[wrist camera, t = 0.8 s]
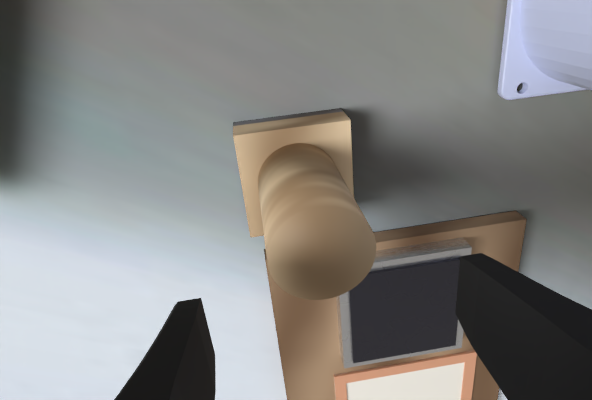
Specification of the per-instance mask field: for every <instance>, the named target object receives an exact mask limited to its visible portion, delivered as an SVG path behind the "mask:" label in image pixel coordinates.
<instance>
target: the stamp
mask: <svg viewBox="0 0 592 400" xmlns="http://www.w3.org/2000/svg"><path fill="white" fill-rule="evenodd" d="M233 137H234V143H235V149H236V155H237V160H238V166H239V172H240V178H241V184H242V190H243V196H244V202H245V207H246V213H247V219H248V225H249V231H250V237H257V236H263V235H264V239H265V248H266V256H267V264H268V268H269V272H270V274H271V276H272V278H273V279H274V281H275V282H276V283H277V285H278V286H279V287H280V288H282V289H283V290H284V291H286V292H287V293H289V294H291V295H293V296H296V297H298V298H302V299H308V300H324V299H330V298H334V297H337V296H340V295H342V294H344V293H346V292H348V291H350V290H352V289H353V288H354V287H356V286H357V285H358V284H359V283H360V282H361V281H362V280H363V279H364V278H365V277H366V276H367V274H368V273H369V271H370V270H371V268H372V266H373V263H374V260H375V256H376V240H375V236H374V233H373V231H372V229H371V227H370V226H369V224H368V222H367V220H366V218H365V217H364V215H363V213H362V211H361V210H360V208H359V206H358V204H357V203H356V201H355V199H354V189H353V166H352V142H351V120H350V119H349V118H348V116H347V115H346V114H345V113H344V112H343V111H342V109H341V108H339V109H331V110H324V111H316V112H308V113H301V114H293V115H286V116H278V117H271V118H263V119H256V120H248V121H240V122H233Z"/></svg>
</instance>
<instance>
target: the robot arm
mask: <svg viewBox="0 0 592 400" xmlns="http://www.w3.org/2000/svg"><path fill="white" fill-rule="evenodd" d="M520 83H523V86H522V89H521V90H520V91H518V92H517V87H518V85H519V84H520ZM587 89H588V90H591V91H592V0H508V2H507V11H506V20H505V29H504V38H503V47H502V56H501V65H500V74H499V83H498V94H499V96H500V97H502V98H504V99H506V100H513V99H521V98H528V97H535V96H543V95H550V94H558V93H565V92H573V91H580V90H587ZM455 314H456V316H457V318H458V320H459V322H460V324H461V326H462V328H463V330H464V332H465V334H466V336H467V338H468V340H469V342H470V344H471V346H472V347H473V349H474V350H475V352H476V353H477V355H478V356H479V358H480V359H481V361H482V362H483V364H484V365H485V367H486V368H487V370H488V371H489V373H490V374H491V376H492V377H493V379H494V380H495V382H496V383H497V385H498V386H499V388H500V389H501V390H502V392H503V393H504V395H505V396H506V398H507V399H508V400H592V310H591V309H589V308H587V307H585V306H583V305H581V304H579V303H576V302H574V301H572V300H570V299H568V298H566V297H564V296H562V295H560V294H558V293H556V292H554V291H553V290H551V289H549V288H547V287H545V286H543V285H541V284H539V283H537V282H535V281H534V280H532V279H530V278H528V277H526V276H524V275H523V274H521V273H519V272H517V271H515V270H513V269H511V268H510V267H508V266H506V265H504V264H502V263H500V262H499V261H497V260H495V259H493V258H491V257H489V256H487V255H485V254H483V253H478V254H472V255H465V256H460V266H459V277H458V288H457V300H456V311H455ZM114 400H215V353H214V349H213V345H212V341H211V337H210V333H209V329H208V325H207V321H206V317H205V313H204V309H203V305H202V300H201V298H198V299H192V300H186V301H180V302H177V304H176V305H175V306H174V308H173V310H172V312H171V313H170V315H169V317H168V319H167V320H166V322H165V324H164V326H163V327H162V329H161V331H160V332H159V334H158V336H157V337H156V339H155V341H154V342H153V344H152V346H151V347H150V349H149V350H148V352H147V353H146V355H145V357H144V358H143V360H142V361H141V363H140V364H139V366H138V367H137V369H136V370H135V372H134V373H133V374H132V376H131V377H130V379H129V380H128V382H127V383H126V384H125V386H124V387H123V389H122V390H121V391H120V393H119V394H118V395H117V397H116V398H115V399H114Z"/></svg>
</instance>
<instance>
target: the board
mask: <svg viewBox="0 0 592 400" xmlns="http://www.w3.org/2000/svg"><path fill="white" fill-rule="evenodd" d="M526 220H527V219H526V218H524V217H523V216H522V215H521V214H519V213H518V212H517V211H510V212H504V213H497V214H491V215H484V216H478V217H471V218H465V219H458V220H452V221H445V222H439V223H432V224H426V225H419V226H413V227H406V228H400V229H393V230H387V231H380V232H374V236H375V240H376V251H378V250H384V249H391V248H397V247H404V246H410V245H416V244H423V243H429V242H435V241H442V240H448V239H455V238H461V237H463V238H464V239H465V240H466V241H467V243H468V244H469V245H470V246H471V247H472V251H471V255H472V254H478V253H483V254H485V255H487V256H489V257H491V258H493V259H495V260H497V261H499V262H500V263H502V264H504V265H506V266H508V267H510V268H511V269H513V270H515V271H517V272H518V269H519V263H520V257H521V251H522V245H523V239H524V232H525V226H526ZM264 252H265V261H266V267H267V273H268V280H269V286H270V292H271V299H272V305H273V312H274V318H275V324H276V331H277V337H278V344H279V350H280V356H281V363H282V369H283V376H284V382H285V388H286V395H287V400H336V398H335V386H334V374H340V373H346V372H351V371H357V370H363V369H368V368H374V367H380V366H385V365H391V364H397V363H402V362H408V361H414V360H419V359H425V358H431V357H436V356H442V355H448V354H454V353H459V352H465V351H471V350H474V349H473V347H472V346H471V344H470V342H469V340H468V338H467V336H466V334H465V332H464V330H463V340H462V348H458V349H452V350H447V351H441V352H435V353H430V354H424V355H418V356H413V357H407V358H401V359H395V360H390V361H384V362H378V363H373V364H367V365H361V366H355V367H350V368H344V366H343V363H342V359H341V356H340V343H339V329H338V315H337V301H336V297H334V298H330V299H324V300H308V299H302V298H298V297H296V296H293V295H291V294H289V293H287V292H286V291H284V290H283V289H282V288H280V287H279V286H278V285H277V283H276V282H275V281H274V279H273V278H272V276H271V274H270V272H269V268H268V264H267V256H266V249H264ZM498 392H499V386H498V385H497V383H496V382H495V380H494V379H493V377H492V376H491V374H490V373H489V371H488V370H487V368H486V367H485V365H484V364H483V362H482V361H481V359H480V358H479V356H478V355H477V358H476V366H475V374H474V382H473V390H472V398H471V400H497V398H498Z"/></svg>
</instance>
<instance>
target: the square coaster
mask: <svg viewBox="0 0 592 400" xmlns="http://www.w3.org/2000/svg"><path fill="white" fill-rule="evenodd" d="M476 358H477V353H476V352H475V350H471V351H465V352H459V353H454V354H448V355H442V356H436V357H431V358H425V359H419V360H414V361H408V362H402V363H397V364H391V365H385V366H380V367H374V368H368V369H363V370H357V371H351V372H346V373H340V374H334V386H335V398H336V400H471V398H472V390H473V382H474V374H475V366H476Z"/></svg>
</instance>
